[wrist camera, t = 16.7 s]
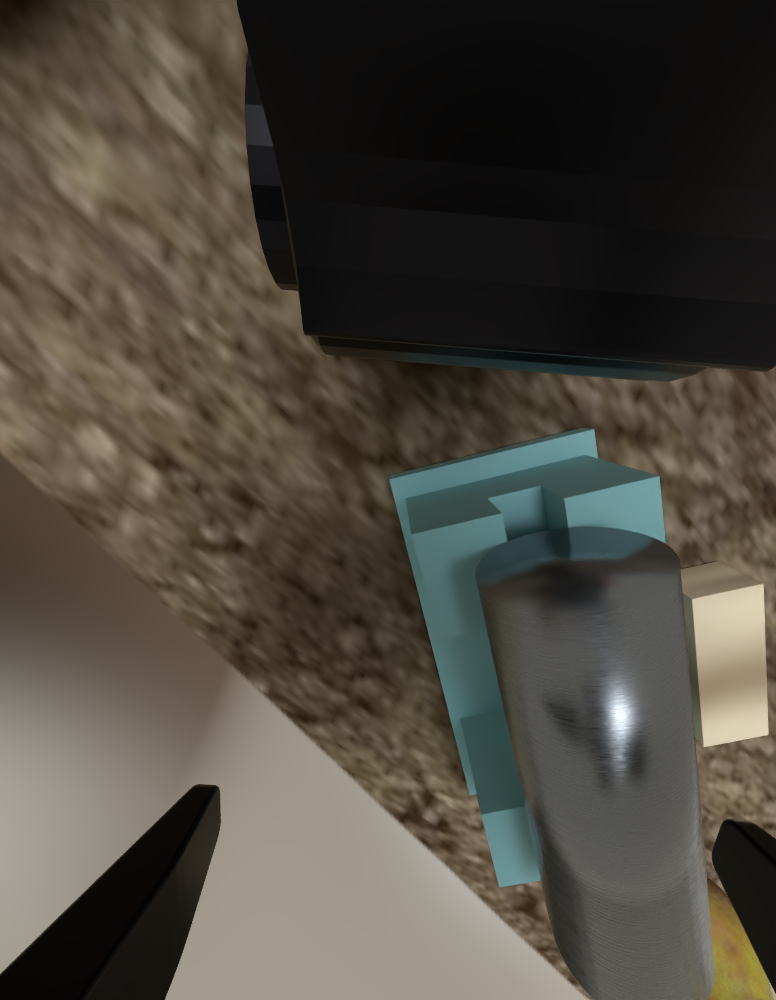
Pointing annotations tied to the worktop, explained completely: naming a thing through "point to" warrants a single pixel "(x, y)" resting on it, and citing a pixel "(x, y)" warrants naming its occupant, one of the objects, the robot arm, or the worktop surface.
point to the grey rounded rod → (605, 753)
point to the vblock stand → (455, 599)
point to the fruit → (733, 954)
